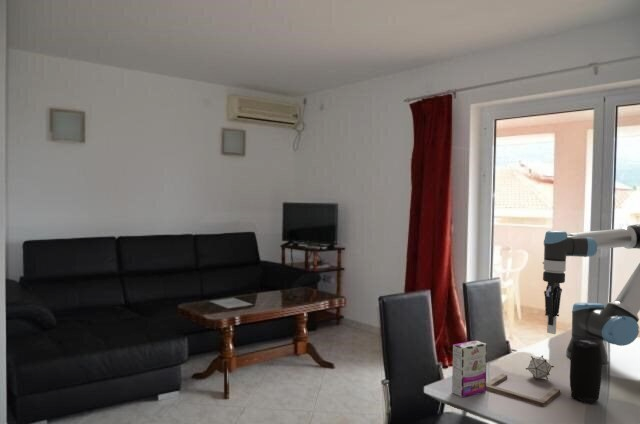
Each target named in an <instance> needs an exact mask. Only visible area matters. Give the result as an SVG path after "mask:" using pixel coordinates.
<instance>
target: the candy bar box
mask: <svg viewBox="0 0 640 424" xmlns="http://www.w3.org/2000/svg"><path fill="white" fill-rule="evenodd" d="M487 346H488V345H487V343H486V342H483V341H479V340H476V339H475V340H473V341H472V340H471V341H466V342H460V343H455V344H452V374H451V375H452V377H451V378H452V381H451V386H452V387H451V391H452V392H451V393H452V394H454V395H456V396H458V397H460V398H462V399H463V398H468V397H472V396H476V395H479V394H483V393H486V392H487V390H486V383H487V351H488V350H487V348H488V347H487Z"/></svg>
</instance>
